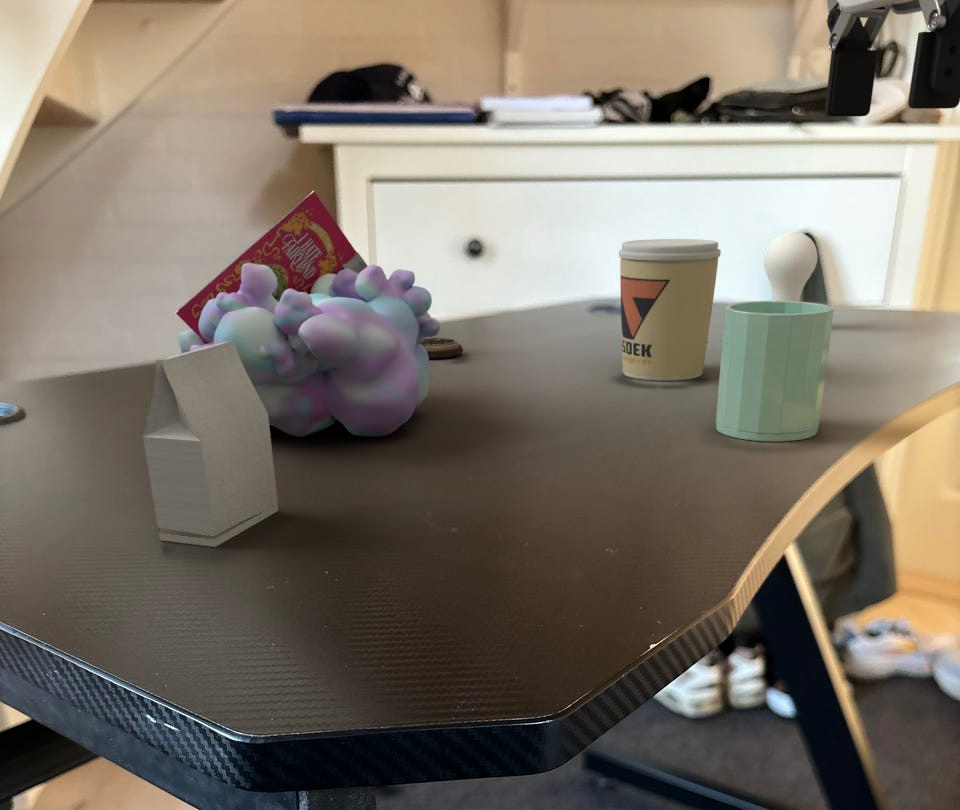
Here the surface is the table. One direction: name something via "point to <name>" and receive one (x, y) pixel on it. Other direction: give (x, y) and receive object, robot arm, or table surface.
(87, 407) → the table surface
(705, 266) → the coffee cup
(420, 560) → the table surface
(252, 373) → the pastel lumpy blob
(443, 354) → the compass
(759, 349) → the glass
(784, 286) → the lightbulb
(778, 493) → the table surface
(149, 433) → the milk carton
